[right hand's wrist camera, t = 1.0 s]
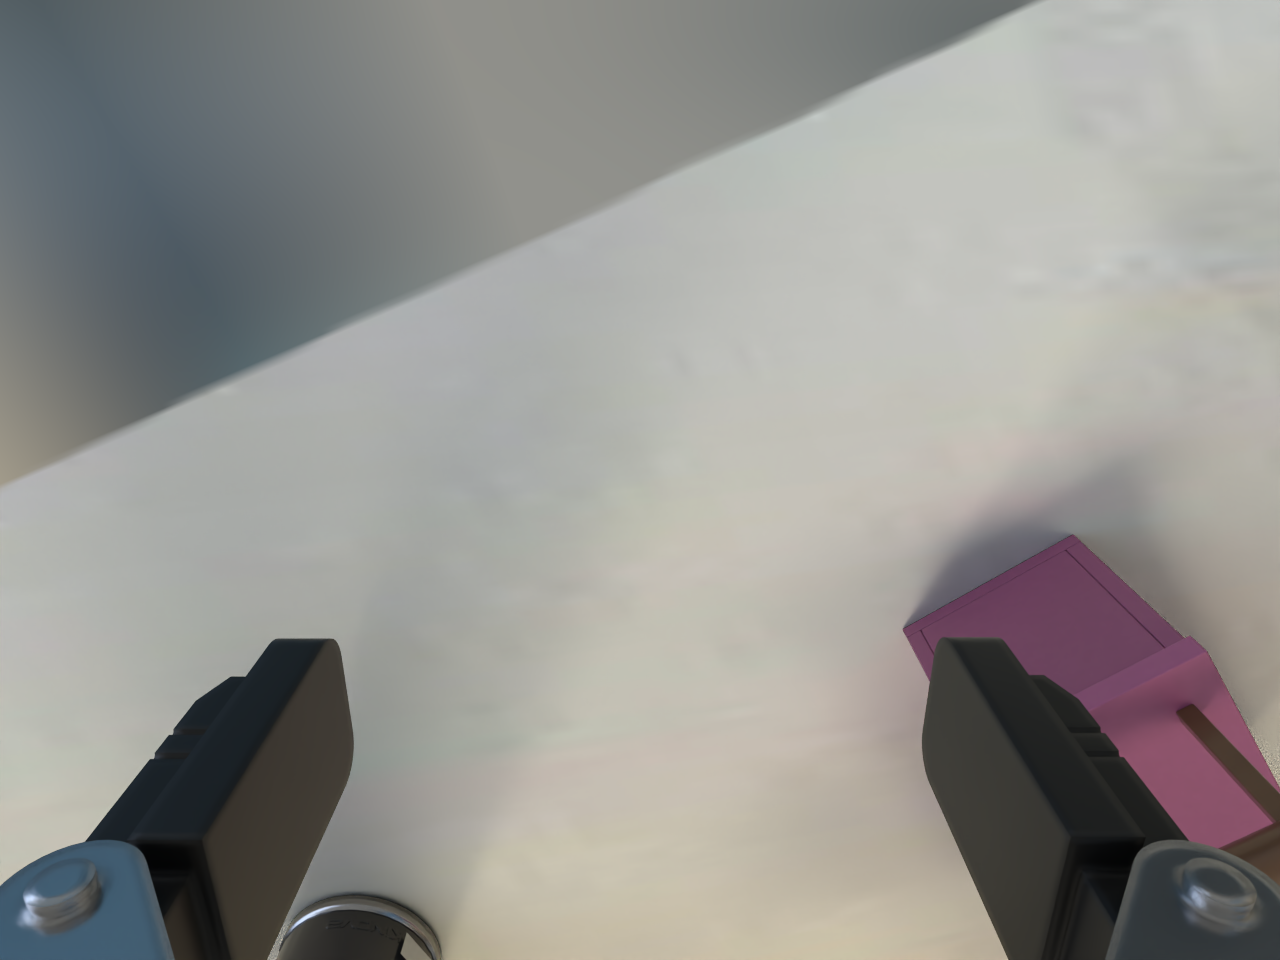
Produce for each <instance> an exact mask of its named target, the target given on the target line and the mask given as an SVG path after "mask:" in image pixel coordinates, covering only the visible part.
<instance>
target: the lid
mask: <svg viewBox="0 0 1280 960" xmlns="http://www.w3.org/2000/svg"><path fill="white" fill-rule="evenodd" d="M1074 696H1075V697H1076V698H1078V699H1079V700H1080V701H1081V703H1082V704H1083V705H1084V707H1085V708H1086V709H1087V710H1088V712H1089V713H1090V714H1091V715H1092V717H1093V718H1094V719H1095V721H1096V722H1097V723H1098V724H1099V726H1100V727H1101V733H1106V735H1107V736H1108V737H1109V739H1110V740H1111V741H1112V742H1113V744H1114V745H1115V746H1116V748H1117V749H1118V750H1119V756H1120V757H1124V758H1125V759H1126V760H1127V762H1128V763H1129V764H1130V766H1131V767H1132V768H1133V769H1134V771H1135V772H1136V773H1137V775H1138V776H1139V777H1140V778H1141V780H1142V781H1143V782H1144V783H1145V785H1146V786H1147V787H1148V789H1149V790H1150V791H1151V792H1152V794H1153V795H1154V796H1155V798H1156V799H1157V800H1158V801H1159V803H1160V804H1161V805H1162V807H1163V808H1164V809H1165V810H1166V812H1167V813H1168V814H1169V816H1170V817H1171V818H1172V819H1173V821H1174V822H1175V823H1176V825H1177V826H1178V827H1179V828H1180V830H1181V831H1182V832H1183V834H1184V835H1185V836H1186V837H1187V839H1188V840H1189V841H1191V842H1197V843H1201V844H1205V845H1209V846H1212V847H1215V848H1218V849H1220V850H1223V851H1226V852H1228V853H1230V854H1232V855H1235V856H1237V857H1239V858H1240V859H1242V860H1244V861H1246V862H1248V863H1250V864H1251V865H1253V866H1254V867H1256V868H1257V869H1259V870H1260V871H1262V872H1263V873H1265V874H1266V875H1267V876H1268V877H1270V878H1271V879H1272V880H1273V881H1275V882H1276V883H1277V884H1278V885H1279V886H1280V787H1279V786H1278V784H1277V782H1276V780H1275V778H1274V776H1273V774H1272V772H1271V771H1270V769H1269V767H1268V765H1267V763H1266V761H1265V759H1264V757H1263V755H1262V754H1261V752H1260V750H1259V748H1258V746H1257V744H1256V742H1255V740H1254V739H1253V737H1252V735H1251V733H1250V731H1249V729H1248V727H1247V725H1246V724H1245V722H1244V720H1243V718H1242V716H1241V714H1240V712H1239V710H1238V708H1237V707H1236V705H1235V703H1234V701H1233V699H1232V697H1231V695H1230V693H1229V692H1228V690H1227V688H1226V686H1225V684H1224V682H1223V680H1222V678H1221V676H1220V675H1219V673H1218V671H1217V669H1216V667H1215V665H1214V663H1213V661H1212V660H1211V658H1210V656H1209V654H1208V652H1207V651H1206V650H1205V649H1204V648H1203V647H1202V646H1201V645H1200V644H1199V643H1198V642H1197V641H1196V640H1194V639H1193V638H1192V637H1191V636H1188V637H1186V638H1184V639H1182V640H1180V641H1178V642H1176V643H1174V644H1172V645H1171V646H1169V647H1167V648H1165V649H1163V650H1161V651H1159V652H1157V653H1155V654H1153V655H1151V656H1149V657H1147V658H1145V659H1143V660H1141V661H1139V662H1137V663H1135V664H1133V665H1132V666H1130V667H1128V668H1126V669H1124V670H1122V671H1120V672H1118V673H1116V674H1114V675H1112V676H1110V677H1108V678H1106V679H1104V680H1102V681H1100V682H1098V683H1096V684H1094V685H1093V686H1091V687H1089V688H1087V689H1085V690H1083V691H1081V692H1079V693H1077V694H1075V695H1074Z"/></svg>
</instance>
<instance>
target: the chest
mask: <svg viewBox="0 0 1280 960" xmlns="http://www.w3.org/2000/svg"><path fill="white" fill-rule="evenodd" d="M903 631H904V633H905V635H906V637H907V639H908V641H909V643H910V645H911V647H912V648H913V650H914V652H915V654H916V656H917V658H918V660H919V662H920V664H921V666H922V668H923V669H924V671H925V673H926V675H927V677H928V679H929V681H930V678H931V672H932V665H933V658H934V652H935V648H936V645H937V643H938V641H939V640H940V639H941V638H942V637H999V638H1001V639H1003V640H1004V641H1005V643H1006V644H1007V645H1008V647H1009V648H1010V649H1011V651H1012V652H1013V654H1014V655H1015V656H1016V658H1017V659H1018V660H1019V662H1020V663H1021V665H1022V666H1023V667H1024V669H1025V670H1026V672H1027V673H1028V674H1029V675H1045V676H1046V677H1048V678H1049V679H1051V680H1052V681H1053V682H1055V683H1056V684H1058V685H1059V686H1061V687H1062V688H1063V689H1065V690H1066V691H1068V692H1069V693H1071V694H1072V695H1075V694H1077V693H1079V692H1081V691H1083V690H1085V689H1087V688H1089V687H1091V686H1093V685H1094V684H1096V683H1098V682H1100V681H1102V680H1104V679H1106V678H1108V677H1110V676H1112V675H1114V674H1116V673H1118V672H1120V671H1122V670H1124V669H1126V668H1128V667H1130V666H1132V665H1133V664H1135V663H1137V662H1139V661H1141V660H1143V659H1145V658H1147V657H1149V656H1151V655H1153V654H1155V653H1157V652H1159V651H1161V650H1163V649H1165V648H1167V647H1169V646H1171V645H1172V644H1174V643H1176V642H1178V641H1180V640H1182V639H1184V637H1183V636H1182V635H1180V634H1179V633H1178V632H1177V631H1176V630H1175V629H1174V628H1173V627H1172V626H1171V625H1170V624H1169V623H1168V622H1167V621H1165V620H1164V619H1163V618H1162V617H1161V616H1160V615H1159V614H1158V613H1157V612H1156V611H1155V610H1154V609H1153V608H1152V607H1150V606H1149V605H1148V604H1147V603H1146V602H1145V601H1144V600H1143V599H1142V598H1141V597H1140V596H1139V595H1138V594H1137V593H1135V592H1134V591H1133V590H1132V589H1131V588H1130V587H1129V586H1128V585H1127V584H1126V583H1125V582H1124V581H1123V580H1122V579H1120V578H1119V577H1118V576H1117V575H1116V574H1115V573H1114V572H1113V571H1112V570H1111V569H1110V568H1109V567H1108V566H1107V565H1105V564H1104V563H1103V562H1102V561H1101V560H1100V559H1099V558H1098V557H1097V556H1096V555H1095V554H1094V553H1093V552H1092V551H1090V550H1089V549H1088V548H1087V547H1086V546H1085V545H1084V544H1083V543H1082V542H1081V541H1080V540H1079V539H1078V538H1077V537H1076V536H1075V535H1071V536H1069V537H1068V538H1066V539H1064V540H1062V541H1060V542H1059V543H1057V544H1055V545H1053V546H1051V547H1050V548H1048V549H1046V550H1044V551H1042V552H1041V553H1039V554H1037V555H1035V556H1033V557H1032V558H1030V559H1028V560H1026V561H1024V562H1023V563H1021V564H1019V565H1017V566H1015V567H1014V568H1012V569H1010V570H1008V571H1006V572H1005V573H1003V574H1001V575H999V576H997V577H996V578H994V579H992V580H990V581H988V582H987V583H985V584H983V585H981V586H979V587H978V588H976V589H974V590H972V591H970V592H969V593H967V594H965V595H963V596H962V597H960V598H958V599H956V600H954V601H953V602H951V603H949V604H947V605H945V606H944V607H942V608H940V609H938V610H936V611H935V612H933V613H931V614H929V615H927V616H926V617H924V618H922V619H920V620H918V621H917V622H915V623H913V624H911V625H909V626H908V627H906V628H904V629H903Z"/></svg>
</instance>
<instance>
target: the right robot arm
mask: <svg viewBox="0 0 1280 960" xmlns="http://www.w3.org/2000/svg"><path fill="white" fill-rule="evenodd" d="M353 749H354V739H353V729H352V723H351V716H350V709H349V703H348V696H347V689H346V683H345V676H344V670H343V663H342V656H341V651H340V648H339V645H338V643H337V642H336V641H335V640H334V639H275V640H273V641H272V642H271V643H270V644H269V645H268V647H267V648H266V650H265V651H264V652H263V654H262V655H261V656H260V658H259V659H258V661H257V662H256V663H255V665H254V666H253V667H252V669H251V670H250V671H249V673H248V674H247V676H246V677H230V678H228V679H227V680H225V681H224V682H222V683H221V684H220V685H218V686H217V687H215V688H214V689H212V690H211V691H209V692H208V693H207V694H205V695H204V696H202V697H201V698H199V699H198V700H196V701H195V703H194V704H193V705H192V706H191V708H190V709H189V710H188V712H187V713H186V714H185V715H184V717H183V718H182V719H181V720H180V722H179V723H178V724H177V726H176V727H175V728H174V733H173V735H169V736H168V737H167V738H166V740H165V741H164V742H163V743H162V745H161V746H160V747H159V748H158V750H157V751H156V752H155V758H154V759H150V760H149V761H148V762H147V764H146V765H145V766H144V767H143V769H142V770H141V771H140V773H139V774H138V775H137V776H136V778H135V779H134V780H133V781H132V783H131V784H130V785H129V787H128V788H127V789H126V790H125V792H124V793H123V794H122V795H121V797H120V798H119V799H118V801H117V802H116V803H115V804H114V806H113V807H112V808H111V809H110V811H109V812H108V813H107V815H106V816H105V817H104V818H103V820H102V821H101V822H100V823H99V825H98V826H97V827H96V829H95V830H94V831H93V832H92V834H91V835H90V836H89V837H88V839H87V840H86V841H85V842H83V843H79V844H75V845H71V846H68V847H65V848H62V849H60V850H57V851H54V852H52V853H50V854H48V855H45V856H43V857H41V858H40V859H38V860H36V861H34V862H32V863H30V864H29V865H27V866H26V867H24V868H23V869H21V870H20V871H18V872H17V873H15V874H14V875H13V876H12V877H10V878H9V879H8V880H7V881H5V882H4V883H3V884H2V885H1V886H0V960H267V958H268V956H269V954H270V952H271V949H272V947H273V945H274V943H275V941H276V938H277V936H278V934H279V932H280V930H281V927H282V925H283V923H284V921H285V919H286V916H287V914H288V912H289V910H290V907H291V905H292V903H293V901H294V899H295V896H296V894H297V892H298V890H299V888H300V885H301V883H302V881H303V879H304V877H305V874H306V872H307V870H308V868H309V866H310V863H311V861H312V859H313V857H314V855H315V852H316V850H317V848H318V846H319V844H320V841H321V839H322V837H323V835H324V832H325V830H326V828H327V826H328V824H329V821H330V819H331V817H332V815H333V813H334V810H335V808H336V806H337V804H338V802H339V799H340V797H341V795H342V793H343V791H344V788H345V786H346V784H347V781H348V778H349V775H350V771H351V766H352V760H353ZM922 751H923V760H924V766H925V770H926V774H927V778H928V780H929V783H930V785H931V787H932V790H933V792H934V794H935V796H936V799H937V801H938V803H939V805H940V808H941V810H942V812H943V814H944V816H945V819H946V821H947V823H948V825H949V828H950V830H951V832H952V834H953V837H954V839H955V841H956V843H957V846H958V848H959V850H960V852H961V854H962V857H963V859H964V861H965V863H966V866H967V868H968V870H969V872H970V875H971V877H972V879H973V881H974V883H975V886H976V888H977V890H978V892H979V895H980V897H981V899H982V901H983V904H984V906H985V908H986V910H987V913H988V915H989V917H990V919H991V921H992V924H993V926H994V928H995V930H996V933H997V935H998V937H999V939H1000V942H1001V944H1002V946H1003V948H1004V950H1005V953H1006V955H1007V957H1008V959H1009V960H1280V886H1279V885H1278V884H1277V883H1276V882H1275V881H1273V880H1272V879H1271V878H1270V877H1268V876H1267V875H1266V874H1265V873H1263V872H1262V871H1260V870H1259V869H1257V868H1256V867H1254V866H1253V865H1251V864H1250V863H1248V862H1246V861H1244V860H1242V859H1240V858H1239V857H1237V856H1235V855H1232V854H1230V853H1228V852H1226V851H1223V850H1220V849H1218V848H1215V847H1212V846H1209V845H1205V844H1201V843H1197V842H1191V841H1189V840H1188V839H1187V837H1186V836H1185V835H1184V834H1183V832H1182V831H1181V830H1180V828H1179V827H1178V826H1177V825H1176V823H1175V822H1174V821H1173V819H1172V818H1171V817H1170V816H1169V814H1168V813H1167V812H1166V810H1165V809H1164V808H1163V807H1162V805H1161V804H1160V803H1159V801H1158V800H1157V799H1156V798H1155V796H1154V795H1153V794H1152V792H1151V791H1150V790H1149V789H1148V787H1147V786H1146V785H1145V783H1144V782H1143V781H1142V780H1141V778H1140V777H1139V776H1138V775H1137V773H1136V772H1135V771H1134V769H1133V768H1132V767H1131V766H1130V764H1129V763H1128V762H1127V760H1126V759H1125V758H1124V757H1120V756H1119V750H1118V749H1117V748H1116V746H1115V745H1114V744H1113V742H1112V741H1111V740H1110V739H1109V737H1108V736H1107V735H1106V733H1101V727H1100V726H1099V724H1098V723H1097V722H1096V721H1095V719H1094V718H1093V717H1092V715H1091V714H1090V713H1089V712H1088V710H1087V709H1086V708H1085V707H1084V705H1083V704H1082V703H1081V701H1080V700H1079V699H1078V698H1076V697H1075V696H1074V695H1072V694H1071V693H1069V692H1068V691H1066V690H1065V689H1063V688H1062V687H1061V686H1059V685H1058V684H1056V683H1055V682H1053V681H1052V680H1051V679H1049V678H1048V677H1046V676H1045V675H1029V674H1028V673H1027V672H1026V670H1025V669H1024V667H1023V666H1022V665H1021V663H1020V662H1019V660H1018V659H1017V658H1016V656H1015V655H1014V654H1013V652H1012V651H1011V649H1010V648H1009V647H1008V645H1007V644H1006V643H1005V641H1004V640H1003V639H1001V638H999V637H942V638H941V639H940V640H939V641H938V643H937V645H936V648H935V652H934V658H933V665H932V672H931V678H930V685H929V692H928V699H927V705H926V712H925V719H924V725H923V733H922ZM276 960H441V952H440V947H439V944H438V941H437V939H436V937H435V935H434V934H433V932H432V931H431V929H430V928H429V927H428V926H427V925H426V924H425V923H424V922H423V921H422V920H421V919H420V918H419V917H418V916H416V915H415V914H414V913H412V912H411V911H409V910H407V909H406V908H404V907H402V906H400V905H398V904H395V903H393V902H390V901H387V900H384V899H380V898H376V897H370V896H361V895H346V896H337V897H332V898H328V899H324V900H321V901H319V902H316V903H314V904H312V905H310V906H308V907H307V908H305V909H304V910H303V911H301V912H300V913H299V914H298V915H297V916H296V917H295V918H294V919H293V921H292V922H291V924H290V925H289V927H288V929H287V932H286V934H285V936H284V938H283V941H282V943H281V946H280V950H279V954H278V957H277V959H276Z"/></svg>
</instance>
